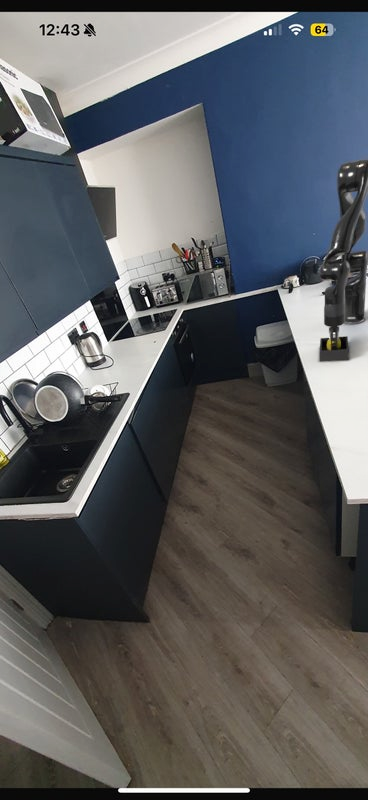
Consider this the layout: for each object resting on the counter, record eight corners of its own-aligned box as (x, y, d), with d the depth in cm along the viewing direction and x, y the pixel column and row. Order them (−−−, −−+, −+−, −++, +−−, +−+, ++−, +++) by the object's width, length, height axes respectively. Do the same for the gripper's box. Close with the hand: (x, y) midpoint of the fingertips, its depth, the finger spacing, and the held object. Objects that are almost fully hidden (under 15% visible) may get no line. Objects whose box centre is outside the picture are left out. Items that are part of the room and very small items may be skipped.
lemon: (339, 356, 132) (339, 338, 128) (325, 355, 135) (325, 338, 131) (341, 350, 136) (342, 333, 132) (328, 350, 139) (328, 333, 135)
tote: (320, 347, 143) (320, 338, 140) (347, 346, 138) (347, 336, 136) (319, 361, 133) (319, 351, 131) (348, 360, 128) (348, 349, 126)
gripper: (345, 318, 119) (344, 356, 128) (344, 305, 130) (343, 341, 138) (323, 320, 122) (324, 357, 131) (324, 307, 133) (324, 343, 141)
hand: (333, 349), depth 134 cm, fingers open, 7 cm apart
